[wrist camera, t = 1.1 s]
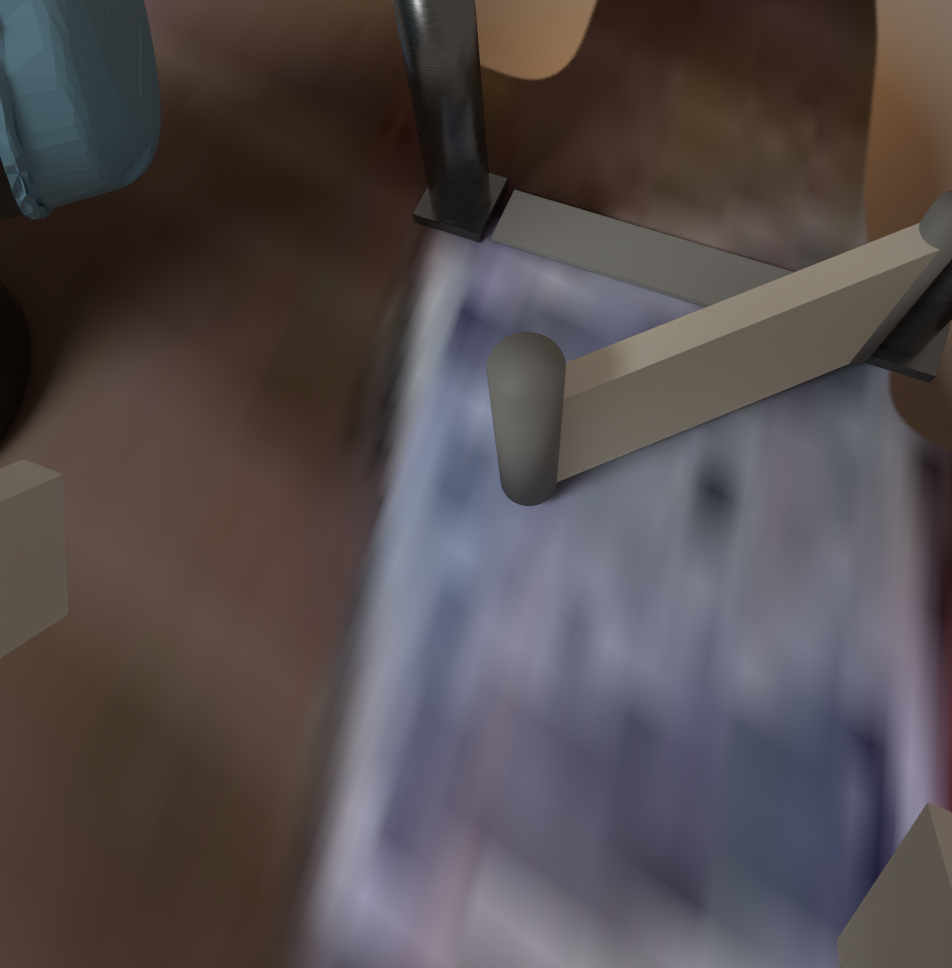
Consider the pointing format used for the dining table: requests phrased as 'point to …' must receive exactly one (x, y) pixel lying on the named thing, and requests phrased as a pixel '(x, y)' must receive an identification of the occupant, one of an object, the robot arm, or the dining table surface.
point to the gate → (702, 359)
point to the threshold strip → (628, 251)
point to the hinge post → (920, 333)
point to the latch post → (449, 115)
